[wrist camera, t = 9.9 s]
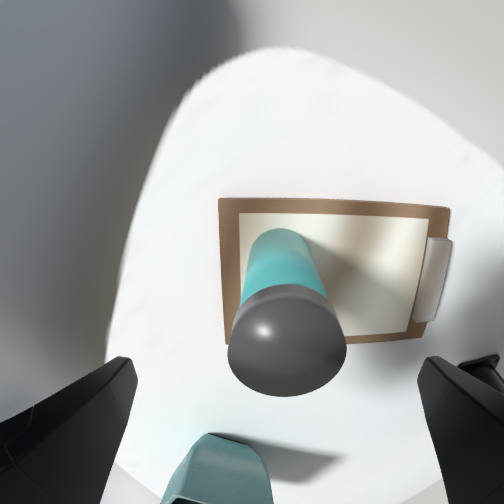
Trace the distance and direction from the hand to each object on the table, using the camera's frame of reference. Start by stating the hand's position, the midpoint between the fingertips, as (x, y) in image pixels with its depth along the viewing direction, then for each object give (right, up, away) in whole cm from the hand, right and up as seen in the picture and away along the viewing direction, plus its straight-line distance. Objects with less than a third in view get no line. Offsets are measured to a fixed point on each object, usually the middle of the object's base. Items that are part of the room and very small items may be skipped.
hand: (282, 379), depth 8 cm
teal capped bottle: (+1, +3, +10) cm, 10 cm away
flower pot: (-4, -17, +18) cm, 25 cm away
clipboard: (+5, +2, +11) cm, 12 cm away
